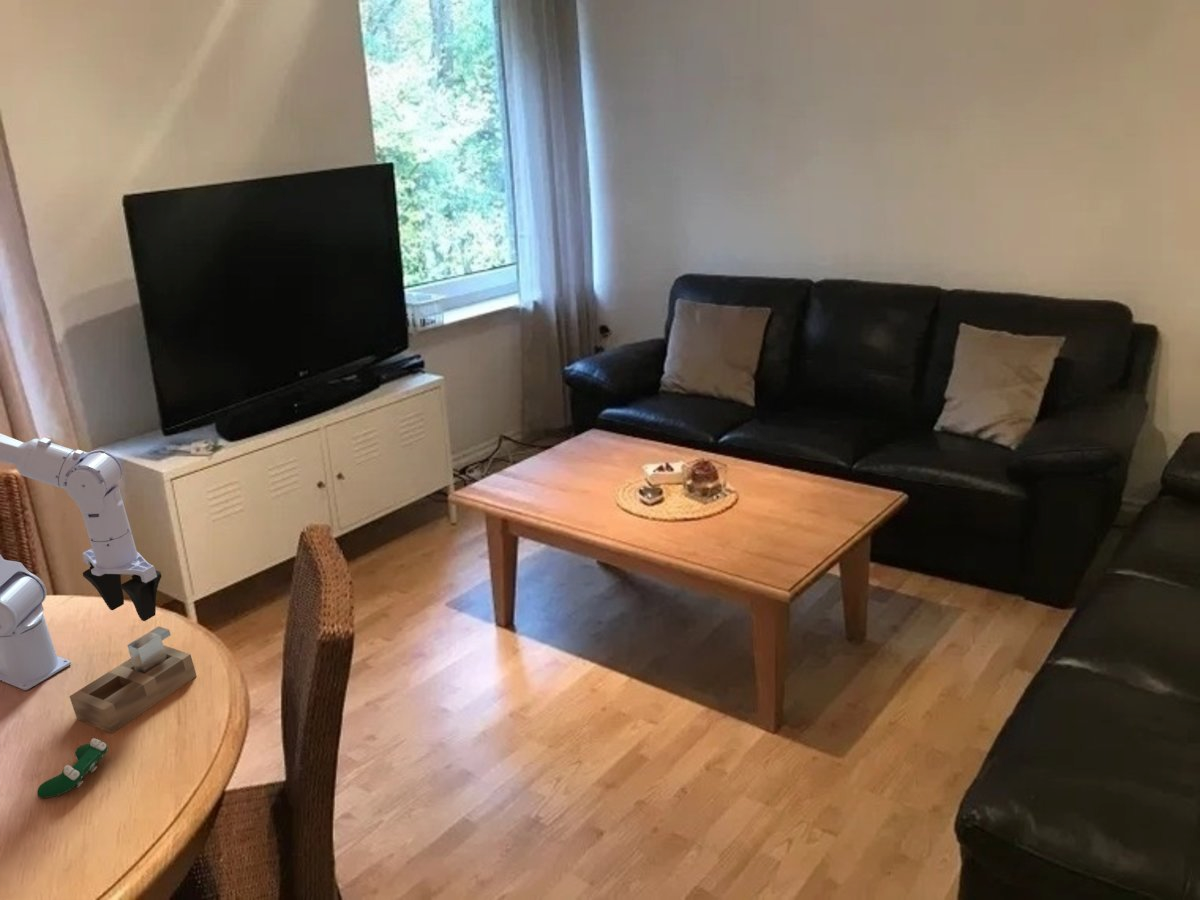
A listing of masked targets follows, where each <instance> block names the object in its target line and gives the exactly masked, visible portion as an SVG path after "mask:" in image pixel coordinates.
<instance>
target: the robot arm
mask: <svg viewBox="0 0 1200 900" xmlns="http://www.w3.org/2000/svg"><path fill="white" fill-rule="evenodd" d="M0 462H2V463H5V464H10V465H13V466H15V467H16V469H17V471H18V473H19V474H20V475H21V476H22V477H25V478H28V479H31V480H35V481H38V482H42V483H43V484H47V485H50V486H53V487H58V488H61V489H63V490H64V491H65V492H66V494H67V495H68V496H69V497H70V498H71V499H72V500H73V501H74V502H76V504H77V507H78V511H80V512H81V515H82V519H83V522H84V526H85V529H86V532H87V536H88V539H89V542H90V546H91V548H90V549H88V550H86V551H84V552H82V558H83V561H84V564H85V565H88V566H89V568H88V569H86V570H85V571H83V572H82V576H83V578H84V579H86V580H87V581H88V582H89V583H91V584H92V586H93V587H94V588H95V589H96V591H97V592H98V593H99V595H100V596H101V598H102V600H103V602H104V603H105V605H106V606H107V607H108V609H109V610H110V611H115V610H116V609H118V608H120V607H122V606H123V605H125V600H124V599H125V597H124V592H125V593H126V594H127V596H128V597H129V599H130V601H131V602H132V603H133V606H134V608H135V611H136V613H137V615H138V617H139V619H140V620H141V621H142V622H146V621H148V620H150V619H151V618H153V617H155V616H156V610H157V609H156V605H157V600H156V599H157V594H158V593H157V592H158V587H159V584H160V581H161V579H162V573H161V571H159V570H156V568H155V565H152V564H150V563H149V562H148V561H147V560H146V559H145V558H144V557H143V555H141V554H140V552H138V551H137V547H136V546H137V545H136V543H135V540H134V535H133V532H132V529H131V525H130V521H129V518H128V515H127V511H126V507H125V504H124V501H123V496H122V494H121V490H120V485H119V484H118V483H119V482H120V481H121V479H122V477H123V467H122V464H121V462H120V461H119V459H117V457H116V456H114V455H113V454H112V453H109V452H106V450H102V449H94V450H91V451H90V452H89V451H88V452H87V451H84V450H80V449H76V450H75V449H72V448H69V447H66V446H63V445H60V444H57V443H53V442H52V439H50V438H47V437H41V438H33V439H30V440H28V441H27V442H23V441H21V440H19V439H18V440H17V439H16V438H13V437H10V436H8V435H5V434H3V433H0ZM122 575H129V576H131V579H129V580H127V581H126V582H123V583H122ZM123 591H124V592H123ZM47 593H48V592H47V587H46V585H45V584H44V582H43V580H42V579H41V578H40V577H38V576H37V575H36V574H34V573H32V572H30V571H29V570H28V568H26V567H25V566H24V565H23V563H22V562H19V561H15V560H7V559H4V558H3V556H2V555H1V554H0V681H1V680H2V681H1V682H3V683H6V684H9V685H11V686H13V687H16V688H19V689H20V690H23V691H28V690H30V689H32V688H33V687H34V686H37V685H38V684H40V683H41V682H43V681H45V680H47V679H48V678H50V677H52V676H53V675H55V674H57V673H58V672H60V671H62V670H63V669H65V668H66V667H68V666H70V665H71V664H72V661H71V660H69V659H66V658H63V657H62V656H58V655H57V653H56V652H57V651H56V650H55V645H54V644H53V640H52V637H51V633H50V631H49V629H48V625H47V622H46V619H45V615H44V613H43V611H44V606H43V603H44V601H45V600H46V598H47Z"/></svg>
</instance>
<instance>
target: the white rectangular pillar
mask: <svg viewBox="0 0 1200 900" xmlns="http://www.w3.org/2000/svg"><path fill="white" fill-rule="evenodd" d="M170 636H171V632H170V629H169V628H164V627H163V626H159V625H158V626H157V627H155V628H153V629H152V630H150V631H148V632H147V633H146V634H143V635H142V636H140V637H138V638H137V639H135V640H134V641H132V642H130V643H128V644H127V646H126V647H127V648H128V652H129V655H130V658H131V659H132V663H133V666H134V669H135V670H136V671H138V672H141V673H144V674H145V673H147V672H148V671H150V670H151V669H153V668H154V667H156V666H158V665H159V664H161V663H162V662H164V661H165V660H167V657H166V653H165V650H164V646H165V645H164V643H163V641H164V640H165V639H167V638H169V637H170ZM163 645H164V646H163Z"/></svg>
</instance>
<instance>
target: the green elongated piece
mask: <svg viewBox="0 0 1200 900" xmlns="http://www.w3.org/2000/svg"><path fill="white" fill-rule="evenodd" d="M108 749H109V748H108V745H107V744H106V742H104V741H101V739H98V738H92V739H91V740H90V742H89V743H85V744H82V745H80V746H78V747H77V748H76V750H75V752H74V755H75V757H76V759H77V761H76V762H75V763H74V764H73V765H72V766H71V765H69V764H66V765H65V766H64V767H63V770H62V772H61V773H59V774H58V775H56V776H54V777H51V778H49V779H48V780H46V781H44V782H42V783H41V784H40V785H39V786H38V789H37V791H36V792H37V793H36V794H37V797H38V798H41V799H42V798H45V799H46V798H52V797H56V796H59V795H62V794H64V793H67V792H68V791H70V790H73V789H74V788H75V787H76V788H80V786H81V785H82V784H83V783H84V781H83V778H84V776H86V774H87V773H89V772H90V773H93V772H94V771H95V770H97V768H98V766H97V763H98V762H100V760H101V759H102V758H103V756H105V754H107V752H108Z"/></svg>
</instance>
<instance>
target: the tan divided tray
mask: <svg viewBox="0 0 1200 900" xmlns="http://www.w3.org/2000/svg"><path fill="white" fill-rule="evenodd" d="M163 646H164V650H165V653H166V657H167V660H165V661H164V662H162V663H161V664H159V665H158V666H156V667H154V668H153V669H151V670H150V671H148V672H147V673H145V674H144V673H141V672H138V671H136V670H135V669H134V666H133V663H132V659H131V657H129V659H127V660H126V661H124V662H123V663H121V664H120V665H117V666H116V667H114V668H112V669H111V670H110V671H108V672H106V673H105V674H103V675H101V676H100V677H98V678H97V679H95V680H93V681H91V682H90V683H88V684H86V686H83V687H82V688H80V689H79V690H77V691H76V692H74V693H72V694H70V695H69V699H70V702H71V705H72V708H73V711H74V714H75V717H76V719H77V720H78V721H81V722H83V723H85V724H88V725H89V726H90V725H91V726H93V727H96V728H98V729H100V730H102V731H105V732H108V733H110V734H113V733H114V732H116V731H118V730H119V729H121V728H122V727H124V726H125V725H126V724H128V723H129V722H131V721H132V720H134V719H135V718H137V717H138V716H139V715H141V714H143V713H145V712H146V711H148V710H149V709H151V708H152V707H153V706H155V705H157V704H158V703H159V702H161V701H162V700H164V699H165V698H168V696H170V695H171V694H173V693H174V692H176V691H177V690H179V689H180V688H182V687H183V686H185V685H186V684H188V683H189V682H191V681H192V680H193V679H195V678H196V677H197V673H196V670H195V666H194V665H195V664H194V662H193V659H192V655H191V653H188V652H185V651H181V650H179V649H176V648H172V647H170V646H167V645H164V644H163Z"/></svg>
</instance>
